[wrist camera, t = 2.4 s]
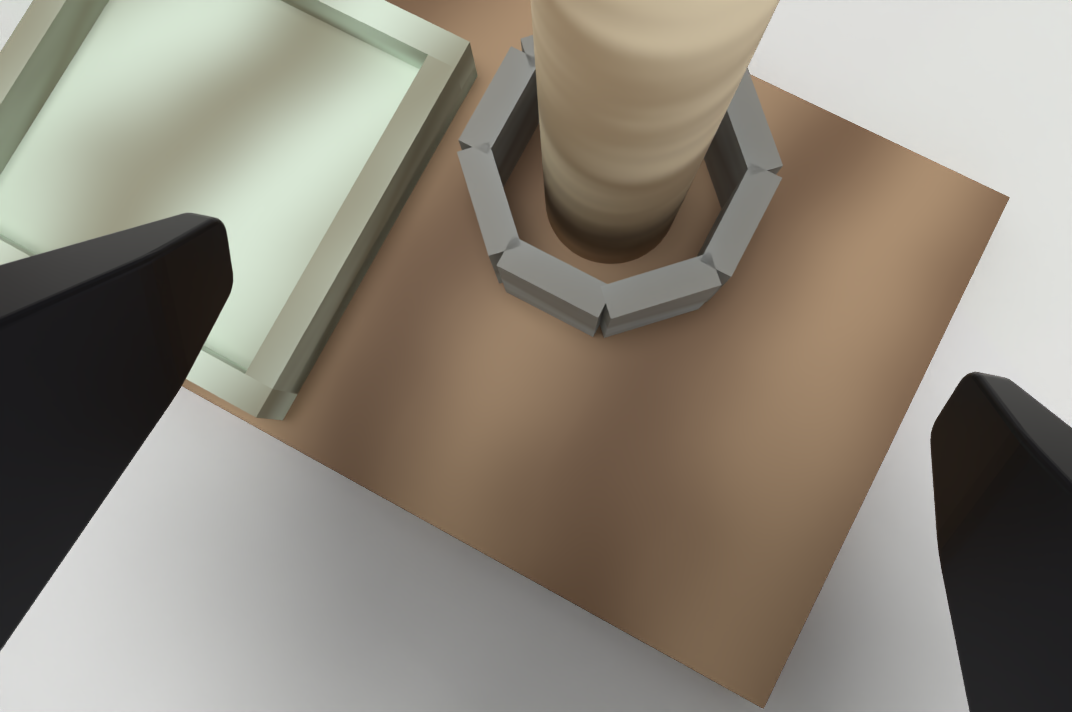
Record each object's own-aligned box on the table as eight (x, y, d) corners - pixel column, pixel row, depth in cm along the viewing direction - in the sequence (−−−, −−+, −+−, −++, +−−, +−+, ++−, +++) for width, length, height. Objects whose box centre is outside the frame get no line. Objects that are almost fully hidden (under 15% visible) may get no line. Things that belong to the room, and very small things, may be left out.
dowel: (699, 173, 21) (916, -272, 8) (639, 286, 21) (765, 14, 8) (583, 116, 21) (613, -400, 8) (522, 227, 21) (455, -130, 8)
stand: (989, 208, 22) (1085, 155, 18) (753, 696, 20) (800, 756, 16) (226, -155, 24) (159, -276, 20) (-32, 260, 22) (-159, 220, 18)
